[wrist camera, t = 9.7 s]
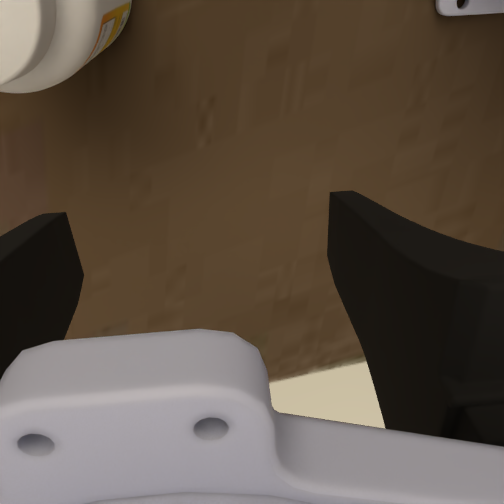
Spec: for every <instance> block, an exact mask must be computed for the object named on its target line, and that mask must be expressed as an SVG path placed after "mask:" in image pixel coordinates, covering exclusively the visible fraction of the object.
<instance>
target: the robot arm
mask: <svg viewBox="0 0 504 504" xmlns="http://www.w3.org/2000/svg"><path fill="white" fill-rule="evenodd" d="M456 2H457V0H436V10H437V12H438V13H439V14H441V15H444V16H460V15H476V14H491V13H504V0H465V2H464V5H463V6H462V7H461V8H458V7H457V3H456ZM327 256H328V260H329V265H330V269H331V272H332V276H333V280H334V283H335V286H336V288H337V290H338V293H339V295H340V297H341V300H342V302H343V304H344V307H345V309H346V311H347V314H348V316H349V318H350V320H351V323H352V325H353V327H354V330H355V332H356V334H357V336H358V339H359V341H360V344H361V346H362V349H363V351H364V354H365V357H366V361H367V364H368V367H369V370H370V374H371V377H372V380H373V384H374V387H375V391H376V395H377V398H378V402H379V406H380V409H381V413H382V416H383V420H384V424H385V428H386V429H384V428H377V427H370V426H364V425H357V424H351V423H344V422H338V421H331V420H325V419H318V418H311V417H305V416H299V415H292V414H286V413H279V412H277V411H275V410H274V409H273V407H272V404H271V396H270V389H269V381H268V373H267V369H266V366H265V364H264V362H263V360H262V357H261V355H260V353H259V350H258V348H257V347H255V346H253V345H252V344H250V343H249V342H247V341H245V340H244V339H242V338H241V337H239V336H237V335H236V334H234V333H232V332H223V331H215V330H206V329H190V330H178V331H166V332H154V333H142V334H131V335H119V336H107V337H95V338H83V339H71V340H64V338H65V335H66V333H67V330H68V328H69V325H70V323H71V320H72V318H73V315H74V313H75V310H76V307H77V305H78V301H79V296H80V292H81V287H82V282H83V277H84V273H83V270H82V266H81V263H80V259H79V256H78V252H77V249H76V246H75V242H74V239H73V235H72V232H71V228H70V225H69V221H68V218H67V215H66V212H61V213H48V214H41V215H39V216H36V217H34V218H32V219H30V220H28V221H27V222H25V223H23V224H21V225H19V226H18V227H16V228H14V229H13V230H11V231H9V232H7V233H6V234H4V235H2V236H1V237H0V504H504V252H503V251H498V250H494V249H490V248H486V247H482V246H478V245H474V244H471V243H467V242H464V241H461V240H457V239H455V238H452V237H449V236H446V235H443V234H440V233H438V232H435V231H433V230H430V229H428V228H425V227H423V226H421V225H419V224H416V223H414V222H412V221H410V220H408V219H406V218H404V217H402V216H400V215H398V214H396V213H394V212H392V211H390V210H388V209H387V208H385V207H383V206H381V205H379V204H378V203H376V202H374V201H372V200H370V199H369V198H367V197H365V196H363V195H361V194H359V193H357V192H354V191H340V192H330V201H329V225H328V249H327Z"/></svg>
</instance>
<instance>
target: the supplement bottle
mask: <svg viewBox="0 0 504 504" xmlns="http://www.w3.org/2000/svg"><path fill="white" fill-rule="evenodd" d="M131 3H132V0H0V92H6V93H30V92H36V91H40V90H43V89H47V88H49V87H52V86H54V85H56V84H59V83H61V82H62V81H64V80H66V79H68V78H69V77H71V76H72V75H73V74H75V73H76V72H77V71H78V70H80V69H81V68H82V67H83V66H84V65H86V64H87V63H88V62H89V61H90V60H92V59H93V58H94V57H96V56H97V55H98V54H99V53H101V52H102V51H103V50H104V49H106V48H107V47H108V46H109V45H110V44H111V43H112V42H113V41H114V40H115V39H116V38H117V37H118V36H119V34H120V33H121V31H122V30H123V28H124V26H125V24H126V22H127V19H128V16H129V13H130V9H131Z"/></svg>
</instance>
